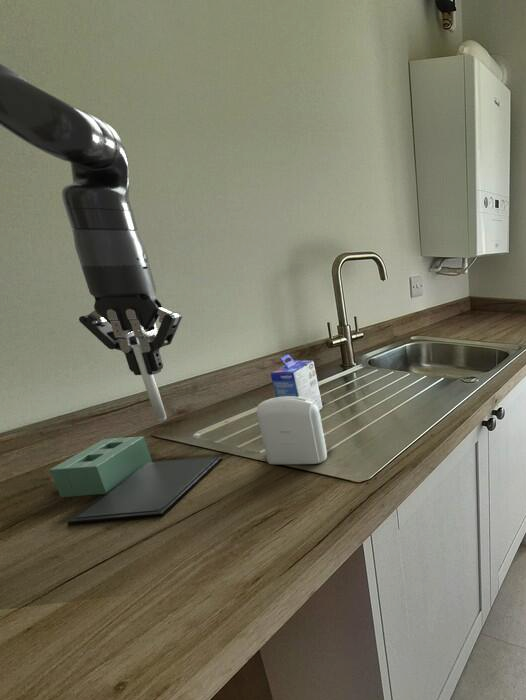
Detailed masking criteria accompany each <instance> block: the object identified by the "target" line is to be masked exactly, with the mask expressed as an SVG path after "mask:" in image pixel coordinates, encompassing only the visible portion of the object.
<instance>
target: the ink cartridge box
mask: <svg viewBox="0 0 526 700" xmlns="http://www.w3.org/2000/svg"><path fill="white" fill-rule="evenodd" d="M286 359H288V360H289V361H287V362H286ZM279 360H280V361H281V362H282V364H283V365H282V366H280V367H279V368H278V369H276V370H274V371H272V372H271V373H270V377H271V382H272V386H273V390H274V395H275V398H276V397H285V396H293V397H302V398H307V399H310V400H313V401H315V402H316V403H317V404H318V407H319V411H321V410H322V409H323V402H322V399H321V393H320V392H321V391H320V389H319V382H318V377H317V372H316V367H315V363H314V360H311V359H310V360H309V359H308V360H307V359H305V360H294V359H293V358H292V356H291V355H290V354H289V353H287V354H285V355H284V356H281V357H279Z"/></svg>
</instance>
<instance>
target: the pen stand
mask: <svg viewBox="0 0 526 700" xmlns="http://www.w3.org/2000/svg"><path fill="white" fill-rule="evenodd" d="M149 462H153V460H152V457H151V454H150V451H149V448H148V445H147V442H146V438H145V436H144V435H143V436H130V437H127V436H126V437H113V438H104V439H101V440H100V441H98V442H96V443H94V444H93V445H91V446H89V447H87V448H85V449H84V450H82V451H80V452H78V453H77V454H75V455H73V456H71V457H69V458H68V459H66V460H64V461H62V462H61V463H59V464H57V465H55V466H53V467H52V468H49V472H50V475H51V477H52V480H53V482H54V484H55V487H56V489H57V492H58V494H59V496H60V498H70V497H71V498H72V497H82V496H94V495H95V496H96V495H97V496H98V495H104V494H106V493H107V492H109V491H110V490H111V489H113V488H114V487H115V486H117V485H118V484H120V483H121V482H122V481H124V480H125V479H126V478H128V477H129V476H131V475H132V474H133V473H135V472H136V471H137V470H139V469H140V468H142V467H143V466H144V465H146V464H147V463H149Z"/></svg>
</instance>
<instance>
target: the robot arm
mask: <svg viewBox="0 0 526 700" xmlns="http://www.w3.org/2000/svg"><path fill="white" fill-rule="evenodd" d="M0 126H1V127H2V128H3V129H5V130H7V131H8V132H9V133H11V134H13V135H14V136H16V137H17V138H19V139H21V140H22V141H23V142H25V143H27V144H28V145H30V146H32V147H34V148H36V149H38V150H40V151H42V152H43V153H45V154H48V155H50V156H52V157H53V158H56V159H59V160H60V161H61V160H62V161H65V162H68V163H70V164H69V165H70V168H71V177H72V183H71V184H68V185H66V186H64V187H63V188H62V190H61V198H62V202H63V206H64V209H65V212H66V217H67V219H68V222H69V224H70V228H71V231H72V237H73V241H74V242H73V243H74V248H75V251H76V255H77V258H78V261H79V264H80V267H81V270H82V273H83V276H84V279H85V282H86V285H87V289H88V292H89V294H90V295H91V296H93V298H94V305H93V309H94V310H93V311H91V312H90V313H89V314H85V315H82V316H80V317H79V318H78V321H79V323H80V324H82V326H84V327H85V328H86V329H87V330H88V331H89V332H90V333H91V334H92V335H93V336H94V337H95V338H97V340H99V341H100V342H101V343H102V344H103V345H104V346H105V347H106V348H107V349H109V350H117V351H121V352H122V353H123V354H124V356H125V359H126V362H127V365H128V369H129V370H130V372H131V373H133V375H134V376H142V375H141V372H140V369H139V366H138V363H137V360H136V357H135V354H134V351H133V346H134V345H136V344H140V346H141V349H142V350H143V351H144V352H143V353H142V356H143V359H144V363H145V366H146V370H147V373H148V374H149V375H157V374H159V373H161V372H162V370H163V368H164V363H163V360H162V356H161V353H160V349H161V348H163V347H166V346H169V345H171V344H172V341H173V339H174V337H175V334H176V333H177V330H178V328H179V326H180V323H181V321H182V319H183V315H182V314H181V312H177V311H176V312H172V311H171V310H168V309H166V308H164V307H163V304H162V302H161V301H160V300H159V299H158V297H157V288H156V284H155V281H154V277H153V273H152V270H151V266H150V262H149V257H148V255H147V250H146V248H145V245H144V242H143V240H142V238H141V235H140V233H139V231H138V230H139V229H138V226H137V222H136V219H135V215H134V212H133V207H132V205H131V203H130V169H129V168H130V167H129V159H128V155H127V154H128V153H127V151H126V148H125V145H124V143H123V140H122V139H121V137H120V135H119V134H118V132H117V131H116V130H115V129H114V127H113V126H111V125H110V123H108V122H106V121H105V120H104V119H102V118H100V117H98V116H96V115H94V114H91V113H89V112H88V111H85V110H83V109H80V108H79V107H76V106H73V105H71V104H70V103H68V102H66V101H64V100H62V99H60V98H58V97H57V96H54V95H53V94H50V93H48V92H47V91H46V90H43V89H41V88H39V87H37V86H35V85H33V84H32V83H30V82H28V81H27V80H26V79H25V78H24V77H23V76H22V75H20V74H19V73H17V72H15V71H14V70H13V69H11V68H9V67H7V66H6V65H4V64H2V63H1V62H0ZM157 321H158V322H159V323H160V325H159V328H158V326H157V324H156V323H157Z"/></svg>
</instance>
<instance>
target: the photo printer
mask: <svg viewBox="0 0 526 700" xmlns="http://www.w3.org/2000/svg"><path fill="white" fill-rule="evenodd" d="M320 411H321V410H319V407H318V404H317V403H316V402H315V401H313V400H310V399H307V398H302V397H293V396H285V397H276V396H275V397H271V398H269V399H266V400H263V401H262V402H260V403H258V405H257V408H256V418H257V424H258V427H259V431H260V436H261V440H262V445H263V449H264V452H265V458H266V460H267V463H268V464H270V465H315V464H316V465H317V464H321V463H323V462H325V460H327V458H328V449H327V444H326V440H325V434H324V429H323V423H322V417H321V412H320Z"/></svg>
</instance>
